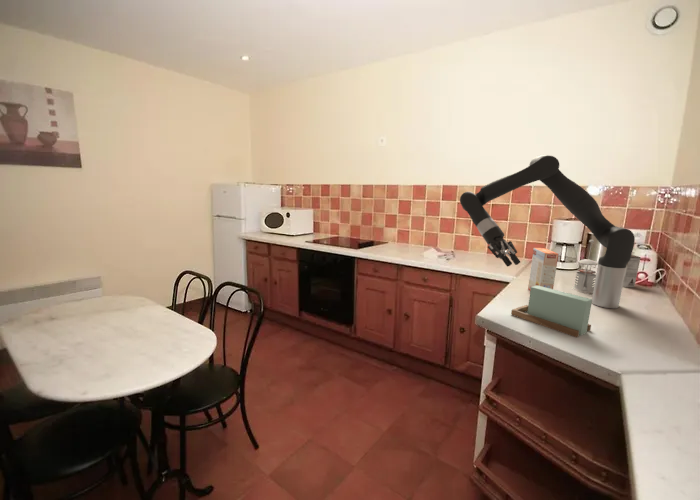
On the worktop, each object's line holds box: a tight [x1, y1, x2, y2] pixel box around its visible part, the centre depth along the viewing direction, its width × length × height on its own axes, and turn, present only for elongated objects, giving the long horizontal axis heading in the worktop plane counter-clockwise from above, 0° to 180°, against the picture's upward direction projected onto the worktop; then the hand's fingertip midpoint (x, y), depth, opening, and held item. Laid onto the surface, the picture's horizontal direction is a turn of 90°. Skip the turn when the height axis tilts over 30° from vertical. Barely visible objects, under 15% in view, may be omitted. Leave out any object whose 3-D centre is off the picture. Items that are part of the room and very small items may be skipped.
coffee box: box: [622, 254, 642, 288], centre depth 167 cm, size 9×6×16 cm
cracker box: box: [527, 247, 559, 291], centre depth 148 cm, size 14×6×21 cm, turn 168°
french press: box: [571, 239, 598, 294], centre depth 155 cm, size 10×12×25 cm
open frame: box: [511, 304, 592, 338], centre depth 118 cm, size 10×22×2 cm, turn 33°
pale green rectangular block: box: [526, 285, 593, 336], centre depth 115 cm, size 4×18×12 cm, turn 33°
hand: (514, 264), depth 128 cm, fingers open, 5 cm apart
